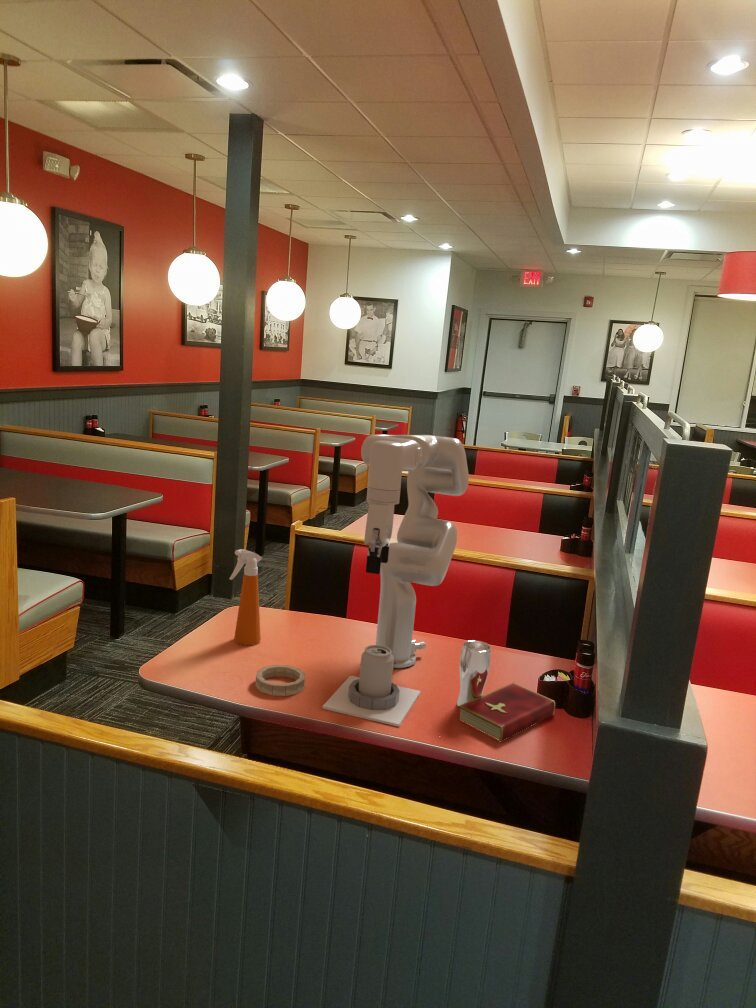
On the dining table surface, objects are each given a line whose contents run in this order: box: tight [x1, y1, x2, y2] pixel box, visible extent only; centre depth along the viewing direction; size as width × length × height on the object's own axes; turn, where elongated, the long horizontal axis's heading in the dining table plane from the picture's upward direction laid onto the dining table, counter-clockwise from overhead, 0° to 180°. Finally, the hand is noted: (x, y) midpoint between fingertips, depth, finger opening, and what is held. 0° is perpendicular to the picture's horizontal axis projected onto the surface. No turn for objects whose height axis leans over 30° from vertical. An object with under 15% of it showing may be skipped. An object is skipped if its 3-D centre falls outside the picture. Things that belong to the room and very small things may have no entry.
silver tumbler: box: [456, 639, 492, 708], centre depth 169 cm, size 7×7×15 cm
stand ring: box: [255, 664, 306, 697], centre depth 172 cm, size 11×11×2 cm
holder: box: [322, 675, 422, 728], centre depth 168 cm, size 18×18×3 cm
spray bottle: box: [229, 548, 263, 646], centre depth 193 cm, size 7×11×26 cm, turn 143°
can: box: [358, 644, 394, 697], centre depth 167 cm, size 8×8×12 cm
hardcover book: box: [458, 682, 556, 742], centre depth 166 cm, size 12×21×4 cm, turn 134°
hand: (377, 567), depth 168 cm, fingers open, 9 cm apart
